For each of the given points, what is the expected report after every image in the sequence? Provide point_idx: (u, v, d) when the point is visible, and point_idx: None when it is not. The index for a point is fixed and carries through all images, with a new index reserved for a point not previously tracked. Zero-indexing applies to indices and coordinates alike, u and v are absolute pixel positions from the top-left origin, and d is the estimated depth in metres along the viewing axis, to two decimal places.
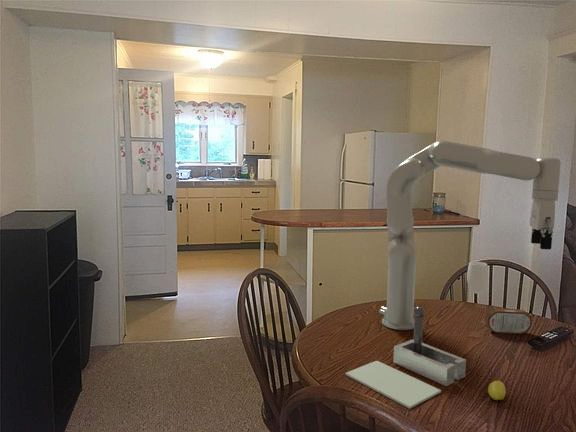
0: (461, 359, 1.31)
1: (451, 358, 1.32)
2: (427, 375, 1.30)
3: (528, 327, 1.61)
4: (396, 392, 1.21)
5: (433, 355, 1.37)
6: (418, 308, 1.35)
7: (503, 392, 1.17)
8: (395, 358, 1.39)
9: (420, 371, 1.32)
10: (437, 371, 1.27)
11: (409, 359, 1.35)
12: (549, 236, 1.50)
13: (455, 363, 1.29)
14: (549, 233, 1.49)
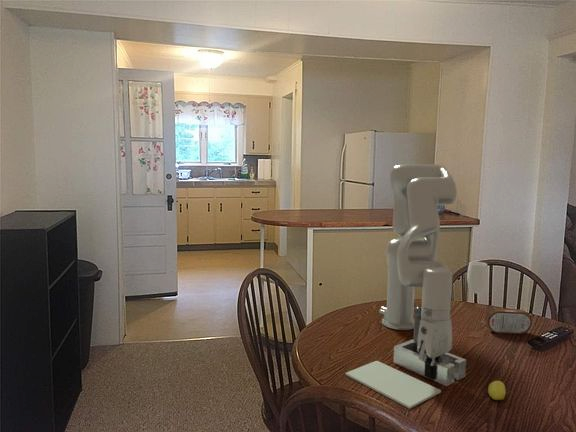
0: (461, 359, 1.31)
1: (451, 358, 1.32)
2: None
3: (528, 327, 1.61)
4: (396, 392, 1.21)
5: None
6: (418, 308, 1.35)
7: (503, 392, 1.17)
8: (395, 358, 1.39)
9: (420, 371, 1.32)
10: (437, 371, 1.27)
11: (409, 359, 1.35)
12: None
13: (455, 363, 1.29)
14: None
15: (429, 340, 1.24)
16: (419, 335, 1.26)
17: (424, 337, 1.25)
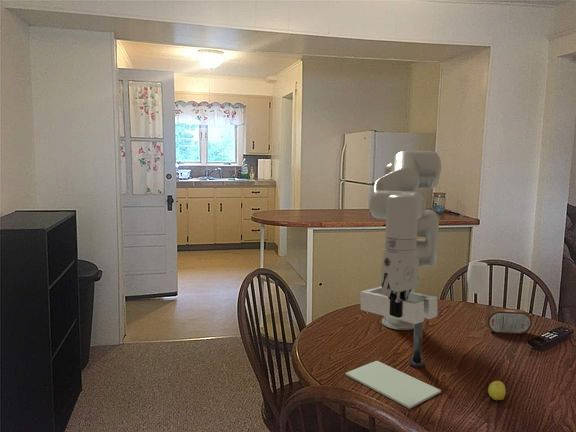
0: (432, 296, 1.19)
1: (421, 297, 1.21)
2: None
3: (528, 327, 1.61)
4: (396, 392, 1.21)
5: None
6: None
7: (503, 392, 1.17)
8: (362, 304, 1.27)
9: (388, 313, 1.20)
10: (405, 309, 1.16)
11: (376, 302, 1.23)
12: None
13: (425, 300, 1.17)
14: None
15: (392, 272, 1.13)
16: (382, 268, 1.15)
17: (387, 269, 1.14)
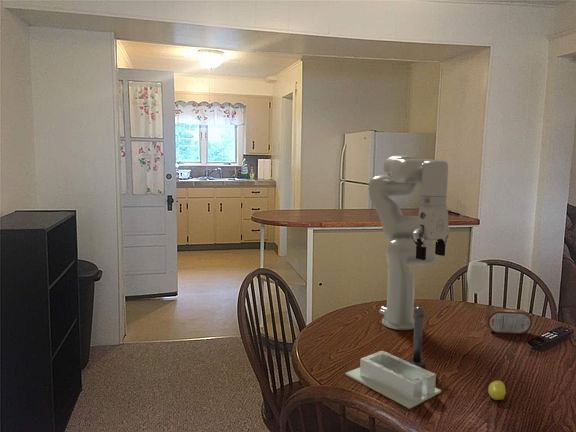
0: (431, 373, 1.21)
1: (420, 372, 1.22)
2: (393, 391, 1.20)
3: (528, 327, 1.61)
4: None
5: (402, 368, 1.27)
6: (418, 308, 1.35)
7: (503, 392, 1.17)
8: (361, 371, 1.29)
9: (386, 386, 1.22)
10: (404, 387, 1.18)
11: (376, 373, 1.25)
12: None
13: (423, 378, 1.19)
14: None
15: (427, 223, 1.38)
16: (418, 221, 1.40)
17: (423, 221, 1.39)
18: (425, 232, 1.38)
